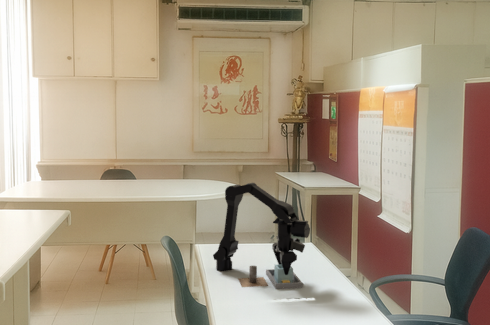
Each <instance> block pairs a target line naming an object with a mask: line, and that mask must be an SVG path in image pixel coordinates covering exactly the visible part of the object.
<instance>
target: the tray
mask: <svg viewBox="0 0 490 325" xmlns="http://www.w3.org/2000/svg"><path fill="white" fill-rule="evenodd" d="M274 269H275V268H274ZM274 269H272V268H271V269H265V275H266V276H267V278H268V280H269V281H270V283H271V284H272V285H273V287H274V289H275V290H284V289H285V290H286V289H289V290H290V289H303V288H304V287H303V284H304V283H303V282H302V280H301V279H300V278H299V276H298V275H296V273H295V272H294V271H293V283H277V282H276V280H275V279H274Z"/></svg>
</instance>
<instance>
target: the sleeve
mask: <svg viewBox="0 0 490 325" xmlns="http://www.w3.org/2000/svg"><path fill="white" fill-rule="evenodd" d="M293 272H294V268H293V266H290V269H289V273H288V275H285V273H284V270H283V267H282V264H280V265H279V264H274V279H275V280H276V282H277V283H293Z"/></svg>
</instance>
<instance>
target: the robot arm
mask: <svg viewBox="0 0 490 325" xmlns="http://www.w3.org/2000/svg"><path fill="white" fill-rule="evenodd" d="M224 192H225V193H224V195H225V196H224V197H225V199H224V200H225V201H226V204H227V206H226V214H225V220H224V222H225V223H224V231H223V237H222V238H221V240H220V242H219V245H218V248H217V251H215V253H214V254H212V257H213V260H214V261H215V264H216V265H215V266H216V267H215V270H216V271H217V272H218V271H219V272H228V271H232V270H233V261H232V257H234V255H235V253H236V252H237V250H239V247H238V246H239V240H236V237H235V235H236V226H237V220H238V219H237V218H238V211H239V205H240V204H241V202H242V200H243V197H244V194H247V193H248V194H249V195H251V196H253V197H254V198H256V200H258V201H259V202H261V203H262V204H264V205H265V206H267V207H268V208H269V209H270V210H271V212H272V214H274V215H275V216H276V219H274V220H273V222H272V224H277V235H276V238H275V239H277V241H276V242H274V243H273V244H272V252H273V254H274V256H275V259H276V262H277V265H280V264H282V267H283V270H284V273H285V275H288V273H289V269H290V266H291V265H292V264H293V263H294V262H295V261H297V259H298V255H297V254H296V253H295V252H294V251H297V252H300V253H303V252H304V250H305V247H306V245H305V244H304V243H303V242H301V241H300V239H299V238H305V239H307V238H309V236H310V234H311V233H310V232H311V227H310V224H309V221H308V220H299V217H298V215H297V214H296V213H295V210H294V207H293V205H291V204H290V203H288V202H285V201H282V200H279V199H277V198H275V197H274V195H273V196H272V194H270V193H269V192H267V191H265V190H264V189H263V188H261V187H260V186H259V185H258V184H256V183H255V182H249V183H246V184H243V185H240V184H233V185H229V186H227V187H226V188H225V190H224ZM292 236H293V237H294V238H293V237H292ZM291 267H292V266H291Z"/></svg>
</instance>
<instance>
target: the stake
mask: <svg viewBox="0 0 490 325" xmlns="http://www.w3.org/2000/svg"><path fill="white" fill-rule="evenodd" d="M257 271H258V267H257V265H249V277H240V278H239V277H238V278H237V280H238V282H239V285H240V286H241V288H248V287H249V288H252V287H253V288H254V287H269V283H268V282H267V281H266V279H265V278H264V276H263V277H262V276H261V277H257V276H258V275H257V274H258V272H257Z"/></svg>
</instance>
